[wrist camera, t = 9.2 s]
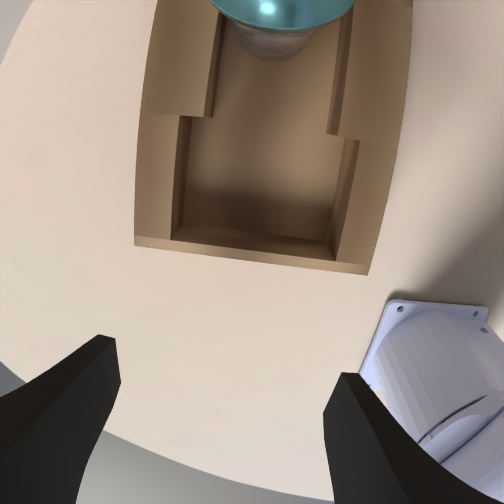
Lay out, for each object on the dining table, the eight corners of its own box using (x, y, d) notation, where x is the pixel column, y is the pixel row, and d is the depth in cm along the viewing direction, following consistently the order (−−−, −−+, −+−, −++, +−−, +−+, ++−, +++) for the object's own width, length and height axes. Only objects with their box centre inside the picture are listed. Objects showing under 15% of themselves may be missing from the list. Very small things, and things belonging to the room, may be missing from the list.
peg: (325, 1, 12) (369, -73, 5) (312, 80, 14) (355, 46, 7) (233, -14, 12) (214, -98, 5) (217, 64, 14) (179, 18, 7)
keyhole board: (386, -1, 12) (412, -24, 9) (348, 246, 18) (367, 275, 15) (189, -30, 12) (173, -60, 9) (157, 221, 18) (134, 245, 14)
